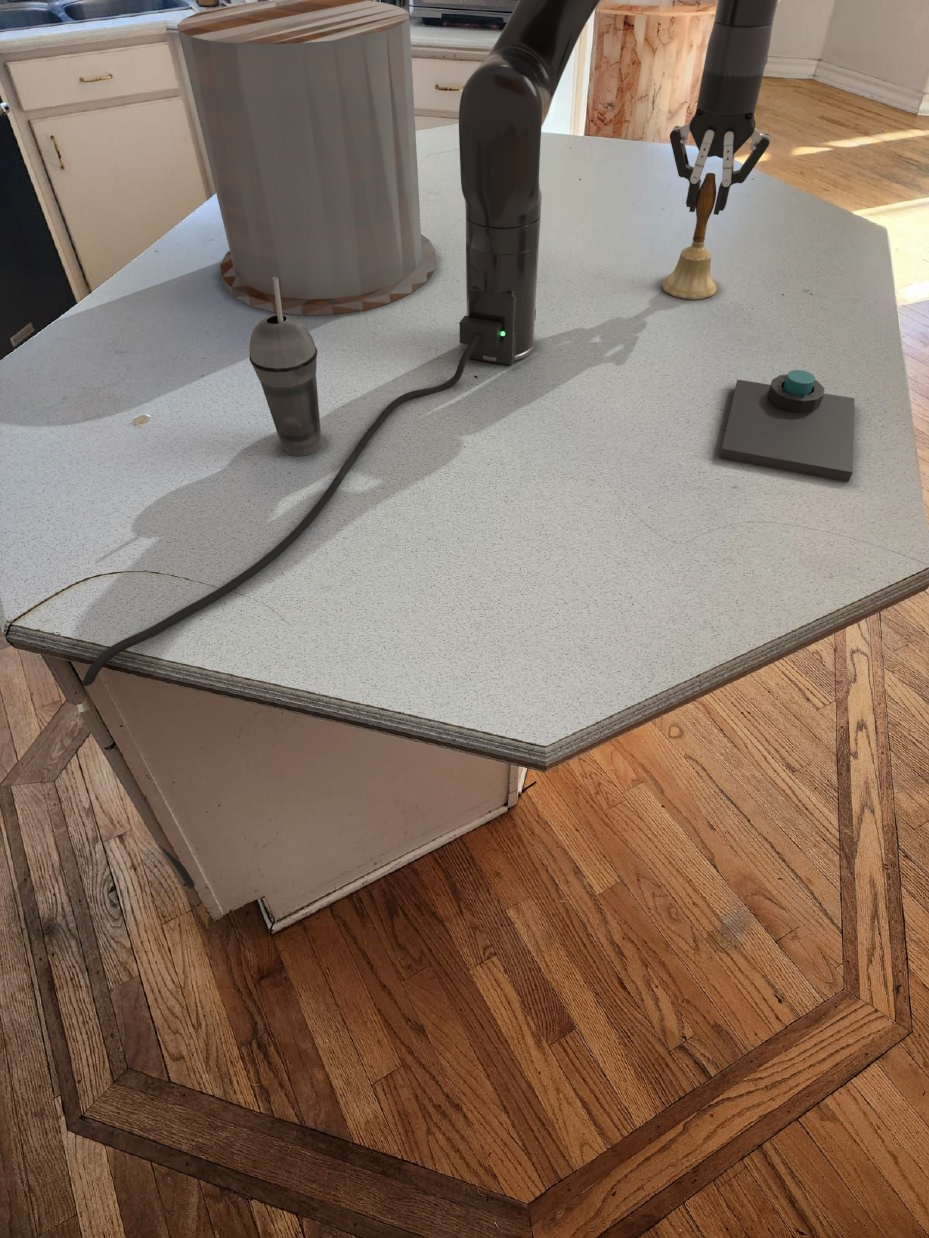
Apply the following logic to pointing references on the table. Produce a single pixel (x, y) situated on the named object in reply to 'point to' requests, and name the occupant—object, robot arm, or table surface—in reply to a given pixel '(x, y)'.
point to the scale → (791, 430)
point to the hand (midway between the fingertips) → (704, 211)
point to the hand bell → (695, 253)
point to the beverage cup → (288, 378)
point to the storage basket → (311, 151)
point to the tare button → (799, 382)
